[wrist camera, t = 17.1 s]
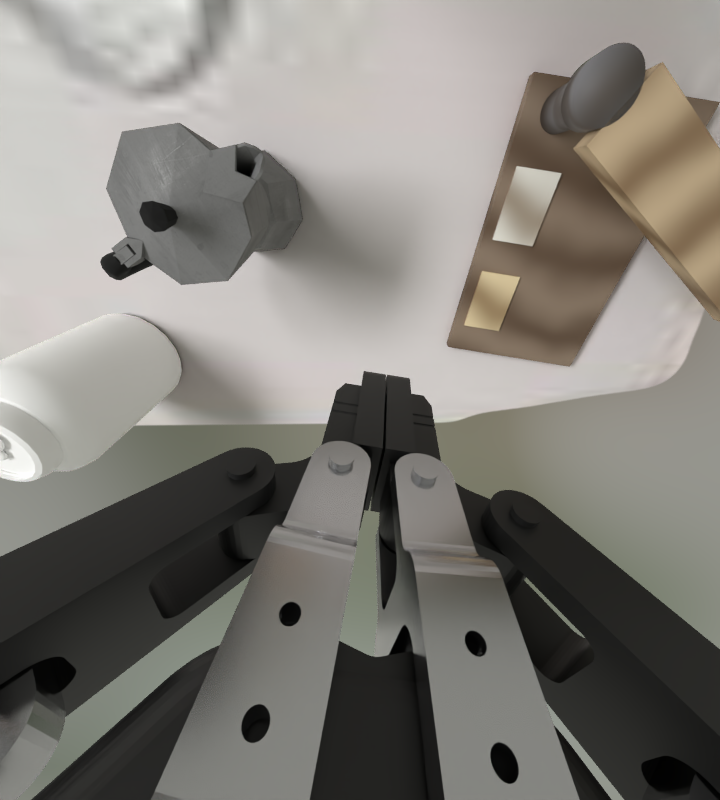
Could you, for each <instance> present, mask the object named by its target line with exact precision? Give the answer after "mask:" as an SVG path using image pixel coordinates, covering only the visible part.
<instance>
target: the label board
mask: <svg viewBox="0 0 720 800" xmlns="http://www.w3.org/2000/svg"><path fill="white" fill-rule="evenodd" d="M570 79H571V78H569V77H563V76H557V75H551V74H544V73H538V72H534V73H533V74H532V75H530V76H529V79H528V82H527V85H526V89H525V92H524V95H523V98H522V102H521V105H520V108H519V111H518V115H517V118H516V121H515V124H514V127H513V131H512V134H511V137H510V140H509V144H508V147H507V150H506V153H505V157H504V160H503V163H502V166H501V169H500V173H499V176H498V179H497V182H496V186H495V189H494V192H493V195H492V198H491V202H490V205H489V208H488V211H487V215H486V218H485V221H484V224H483V228H482V231H481V234H480V237H479V240H478V244H477V247H476V250H475V253H474V257H473V260H472V263H471V266H470V270H469V273H468V276H467V279H466V282H465V286H464V289H463V292H462V295H461V299H460V302H459V305H458V308H457V312H456V315H455V318H454V321H453V324H452V328H451V331H450V334H449V337H448V341H447V345H448V347H453V348H459V349H465V350H471V351H477V352H484V353H490V354H496V355H502V356H508V357H514V358H521V359H527V360H533V361H539V362H545V363H551V364H558V365H564V366H570V365H571V363H572V362H573V360H574V358H575V356H576V355H577V353H578V351H579V349H580V348H581V346H582V344H583V342H584V341H585V339H586V337H587V335H588V334H589V332H590V330H591V328H592V327H593V325H594V323H595V321H596V320H597V318H598V316H599V314H600V312H601V311H602V309H603V307H604V305H605V304H606V302H607V300H608V298H609V297H610V295H611V293H612V291H613V290H614V288H615V286H616V284H617V283H618V281H619V279H620V277H621V276H622V274H623V272H624V270H625V268H626V267H627V265H628V263H629V261H630V260H631V258H632V256H633V254H634V253H635V251H636V249H637V247H638V246H639V244H640V242H641V240H642V239H643V237H644V234H643V233H642V232H641V230H640V229H639V228H638V227H637V226H636V224H635V223H634V222H633V221H632V220H631V218H630V217H629V216H628V215H627V214H626V212H625V211H624V210H623V209H622V207H621V206H620V205H619V204H618V203H617V201H616V200H615V199H614V198H613V197H612V195H611V194H610V193H609V192H608V190H607V189H606V188H605V187H604V186H603V184H602V183H601V182H600V181H599V180H598V178H597V177H596V176H595V175H594V174H593V172H592V171H591V170H590V169H589V167H588V166H587V165H586V164H585V163H584V161H583V160H582V159H581V158H580V157H579V155H578V154H577V153H576V152H575V150H574V149H573V148H574V147H575V146H576V145H577V144H578V143H579V141H580V140H581V139H582V138H583V137H584V136H585V135H586V134H587V133H588V132H586V133H577V132H574V131H572V130H570V129H569V128H568V127H567V126H566V125H565V123H564V121H563V118H562V113H561V103H562V97H563V94H564V91H565V88H566V86H567V84H568V82H569V80H570ZM686 98H687V100H688V101H689V103H690V104H691V106H692V107H693V109H694V111H695V112H696V114H697V115H698V117H699V118H700V120H701V121H702V123H703V124H704V126H705V127H706V126H707V124H708V122H709V121H710V119H711V117H712V115H713V114H714V112H715V110H716V108H717V107H718V105H719V103H720V102H715V101H709V100H703V99H697V98H691V97H686Z"/></svg>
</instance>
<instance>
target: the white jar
mask: <svg viewBox="0 0 720 800" xmlns="http://www.w3.org/2000/svg"><path fill="white" fill-rule="evenodd" d="M181 373H182V368H181V360H180V358H179V355H178V353H177V351H176V349H175V347H174V345H173V344H172V343H171V342H170V340H169V339H168V338H167V337H166V335H165V334H163V333H162V332H161V331H160V330H159V329H157V328H156V327H155V326H154V325H152V324H150V323H149V322H147V321H145V320H143V319H141V318H139V317H135V316H131V315H127V314H121V313H118V314H106V315H103V316H101V317H99V318H96V319H94V320H92V321H89V322H87V323H85V324H82V325H80V326H78V327H76V328H73V329H71V330H69V331H66V332H64V333H62V334H59V335H57V336H55V337H53V338H50V339H48V340H46V341H43V342H41V343H39V344H36V345H34V346H32V347H30V348H27V349H25V350H23V351H20V352H18V353H16V354H13V355H11V356H9V357H6V358H4V359H2V360H0V477H1V478H4V479H9V480H14V481H18V482H20V481H21V482H25V481H26V482H30V481H33V480H36V479H38V478H41V477H44V476H46V475H49V474H50V473H51V472H52V471H72V470H75V469H78V468H81V467H83V466H85V465H87V464H89V463H91V462H93V461H95V460H97V459H98V458H99V457H100V456H101V455H102V454H103V453H104V452H106V450H108V449H109V448H110V447H111V446H112V445H113V444H114V443H115V442H117V441H118V440H119V439H120V438H121V437H122V436H123V435H124V434H125V433H126V432H127V431H129V430H130V429H131V428H132V427H133V426H134V425H135V424H136V423H137V422H138V421H140V420H141V419H142V418H143V417H144V416H145V415H146V414H147V413H148V412H149V411H151V410H152V409H153V408H154V407H155V406H156V405H157V404H158V403H159V402H160V401H162V400H163V399H164V398H165V397H166V396H167V395H168V394H169V393H170V392H171V391H172V390H173V389H174V388H175V387H176V386H177V385H178V383H179V380H180V377H181Z"/></svg>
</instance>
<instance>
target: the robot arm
mask: <svg viewBox="0 0 720 800" xmlns="http://www.w3.org/2000/svg"><path fill="white" fill-rule="evenodd" d="M434 426H435V425H434V419H433V413H432V407H431V405H430V404H429V402H428V401H427V400H426V399H425V397H424V396H422V395H415V394H411V387H410V379H409V378H404V377H398V376H392V375H387V377H386V375H385V374H379V373H372V372H366V371H364V374H363V380H362V386H358V385H352V384H346V383H345V384H344V385H343V386H342V387H341V388H340V389H338V390H337V392H336V395H335V399H334V403H333V406H332V410H331V413H330V417H329V420H328V424H327V427H326V431H325V435H324V438H323V442H322V445H321V446H319V447H318V448H317V449H316V450H315V451H314V453H313V454H312V456H311V457H309V458H307V459H304V460H301V461H298V462H292V463H281V464H275V463H274V461H273V459H272V458H271V456H269V455H268V454H267V453H266V452H264V451H262V450H259V449H255V448H237V449H233V450H229V451H227V452H224V453H223V454H220V455H218V456H216V457H214V458H212V459H210V460H207V461H205V462H203V463H201V464H199V465H197V466H194V467H192V468H190V469H188V470H186V471H184V472H181V473H179V474H177V475H175V476H173V477H171V478H169V479H167V480H164V481H162V482H160V483H158V484H156V485H154V486H151V487H149V488H147V489H145V490H143V491H141V492H138V493H136V494H134V495H132V496H130V497H128V498H126V499H123V500H121V501H119V502H117V503H115V504H113V505H111V506H108V507H106V508H104V509H102V510H100V511H98V512H95V513H94V514H91V515H89V516H87V517H85V518H83V519H80V520H79V521H76V522H74V523H72V524H70V525H68V526H66V527H63V528H61V529H59V530H57V531H55V532H52V533H50V534H48V535H46V536H44V537H42V538H40V539H38V540H35V541H33V542H31V543H29V544H27V545H25V546H23V547H20V548H18V549H16V550H14V551H12V552H10V553H7V554H5V555H3V556H1V557H0V800H16V799H17V798H18V797H19V796H20V795H21V794H22V793H23V792H24V791H25V790H26V789H27V788H28V787H29V786H30V785H31V784H32V782H33V781H34V780H35V779H36V778H37V777H38V775H39V774H40V773H41V771H42V770H43V768H44V767H45V766H46V764H47V763H48V761H49V759H50V758H51V756H52V754H53V753H54V750H55V748H56V746H57V744H58V742H59V740H60V737H61V734H62V731H63V727H64V723H65V717H66V716H67V715H69V714H70V713H71V712H73V711H74V710H75V709H77V708H78V707H79V706H80V705H82V704H83V703H84V702H86V701H87V700H88V699H90V698H91V697H92V696H93V695H95V694H96V693H97V692H99V691H100V690H101V689H103V688H104V687H105V686H106V685H108V684H109V683H110V682H111V681H113V680H114V679H116V678H117V677H118V676H119V675H121V674H122V673H123V672H125V671H126V670H127V669H128V668H130V667H131V666H132V665H134V664H135V663H136V662H137V661H139V660H140V659H141V658H143V657H144V656H145V655H147V654H148V653H149V652H151V651H152V650H153V649H154V648H156V647H157V646H158V645H160V644H161V643H162V642H163V641H165V640H166V639H167V638H169V637H170V636H171V635H173V634H174V633H175V632H177V631H178V630H179V629H180V628H182V627H183V626H184V625H186V624H187V623H188V622H190V621H191V620H192V619H193V618H195V617H196V616H197V615H199V614H200V613H201V612H202V611H204V610H205V609H206V608H208V607H209V606H210V605H212V604H213V603H214V602H215V601H217V600H218V599H219V598H221V597H222V596H223V595H224V594H226V593H227V592H228V591H230V590H231V589H232V588H234V587H235V586H236V585H238V584H239V583H240V582H241V581H243V580H244V579H245V578H246V577H248V576H249V575H250V574H252V575H251V577H250V579H249V582H248V584H247V586H246V588H245V590H244V593H243V595H242V597H241V599H240V602H239V604H238V606H237V608H236V611H235V613H234V615H233V617H232V620H231V622H230V624H229V627H228V628H227V631H226V633H225V636H224V638H223V640H222V642H221V644H220V645H219V646H217V647H215V648H212V649H210V650H208V651H206V652H205V653H203V654H201V655H200V656H198V657H196V658H194V659H193V660H191V661H190V662H188V663H187V664H186V665H184V666H183V667H182V668H180V669H179V670H177V671H176V672H175V673H174V674H172V675H171V676H170V677H169V678H168V679H166V680H165V681H164V682H163V683H162V684H161V685H160V686H158V687H157V688H156V689H155V690H154V691H153V692H152V693H151V694H149V695H148V696H147V697H146V698H145V699H144V700H143V701H142V702H141V703H139V704H138V705H137V706H136V707H135V708H134V709H133V710H132V711H130V712H129V713H128V714H127V715H126V716H125V717H124V718H123V719H121V720H120V721H119V722H118V723H117V724H116V725H115V726H114V727H113V728H112V729H110V730H109V731H108V732H107V733H106V734H105V735H103V736H102V737H101V738H100V739H99V740H98V741H97V742H96V743H95V744H93V745H92V746H91V747H90V748H89V749H88V750H87V751H86V752H84V754H82V755H81V756H80V757H79V758H78V759H77V760H76V761H74V762H73V763H72V764H71V765H70V766H69V767H68V768H66V769H65V770H64V771H63V772H62V773H61V774H60V775H59V776H57V777H56V778H55V779H54V780H53V781H52V782H51V783H50V784H49V785H47V786H46V787H45V788H44V789H43V790H42V791H41V792H39V793H38V794H37V795H36V796H35V797H34V798H33V799H32V800H611V798H610V797H609V796H608V794H607V793H606V792H605V791H604V789H603V788H602V786H601V785H600V784H599V782H598V781H597V780H596V778H595V777H594V776H593V775H592V773H591V772H590V770H589V769H588V768H587V766H586V765H585V764H584V763H583V761H582V760H581V758H580V757H579V756H578V754H577V753H576V752H575V751H574V749H573V748H572V746H571V745H570V744H569V743H568V741H567V740H566V739H565V738H564V736H563V735H562V734H561V733H560V732H559V730H558V729H557V728H556V727H555V726H554V725H553V722H552V719H551V716H550V713H549V711H548V707H547V705H546V702H547V704H548V705H549V706H550V707H551V709H552V710H553V711H554V712H555V714H556V715H557V716H558V717H559V718H560V720H561V721H562V722H563V724H564V725H565V726H566V727H567V729H568V730H569V731H570V732H571V734H572V735H573V736H574V737H575V738H576V740H577V741H578V742H579V744H580V745H581V746H582V747H583V749H584V750H585V751H586V752H587V754H588V755H589V756H590V757H591V758H592V760H593V761H594V762H595V763H596V765H597V766H598V767H599V768H600V770H601V771H602V772H603V773H604V775H605V776H606V777H607V778H608V780H609V781H610V782H611V783H612V785H613V786H614V787H615V788H616V789H617V791H618V792H619V793H620V795H621V796H622V797H623V798H624V800H720V649H719V648H717V647H716V646H715V645H714V644H713V643H711V642H710V641H709V640H708V639H706V638H705V637H704V636H702V634H700V633H699V632H698V631H697V630H695V629H694V628H693V627H692V626H691V625H689V624H688V623H687V622H686V621H684V620H683V619H682V618H681V617H679V616H678V615H677V614H676V613H675V612H673V611H672V610H671V609H670V608H668V607H667V606H666V605H665V604H664V603H662V602H661V601H660V600H659V599H657V598H656V597H655V596H653V595H652V594H651V593H650V592H649V591H648V590H646V589H645V588H644V587H643V586H641V585H640V584H639V583H638V582H637V581H635V580H634V579H633V578H632V577H630V576H629V575H628V574H627V573H625V572H624V571H623V570H622V569H621V568H619V567H618V566H617V565H616V564H614V563H613V562H612V561H611V560H609V559H608V558H607V557H606V556H605V555H603V554H602V553H601V552H600V551H599V550H597V549H596V548H595V547H594V546H592V545H591V544H590V543H589V542H587V541H586V540H585V539H584V538H583V537H581V536H580V535H579V534H578V533H577V532H575V531H574V530H573V529H572V528H570V527H569V526H568V525H567V524H565V523H564V522H563V521H562V520H561V519H559V518H558V517H557V516H556V515H554V514H553V513H552V512H551V511H550V510H548V509H547V508H546V507H545V506H543V505H542V504H541V503H539V502H538V501H537V500H535V499H534V498H532V497H530V496H528V495H526V494H524V493H521V492H518V491H512V490H504V491H499V492H497V493H496V494H495V495H493V497H492V498H491V500H490V499H488V498H485V497H483V496H481V495H478V494H476V493H474V492H471V491H469V490H467V489H465V488H463V487H461V486H460V485H458V484H457V483H455V481H454V478H453V475H452V473H451V471H450V470H449V469H448V467H447V466H446V465H445V464H444V463H442V462H441V460H440V454H439V448H438V442H437V436H436V430H435V428H434ZM371 496H372V499H371ZM370 501H371V511H375V512H380V516H379V527H378V531H377V534H376V570H377V603H378V620H377V630H376V638H375V657H373V656H369V655H366V654H364V653H362V652H360V651H358V650H356V649H354V648H352V647H350V646H348V645H346V644H344V643H342V642H340V641H339V638H340V632H341V628H342V622H343V617H344V611H345V606H346V601H347V595H348V590H349V584H350V579H351V574H352V568H353V563H354V557H355V552H356V546H357V538H358V532H359V530H360V527H361V522H362V518H363V513H364V510H368V509H369V505H370ZM526 577H527V578H528V579H529V580H530V581H531V582H532V583H533V584H534V585H535V587H536V588H538V590H539V591H540V592H542V594H543V595H544V596H545V597H546V598H547V599H549V601H550V602H551V603H552V604H553V605H554V606H555V607H556V608H557V609H558V610H559V611H560V612H561V613H562V614H563V615H564V616H565V617H566V618H567V619H568V620H569V621H570V622H571V623H572V624H573V625H574V626H575V627H576V628H577V629H578V630H579V631H580V632H581V633H582V634H583V635H584V637H585V638H583V637H581V636H579V635H578V634H577V633H575V632H574V631H573V630H572V629H571V628H570V627H569V626H568V625H567V624H566V623H565V622H564V621H563V620H562V619H561V618H560V617H559V616H558V615H557V614H556V613H555V612H554V611H553V610H552V609H551V608H550V607H549V606H548V605H547V604H546V603H545V602H544V600H543V599H542V598H541V597H540V596H539V595H538V594H537V593H536V592H535V591H534V590H533V589H532V588H531V587H530V586H529V585H528V584H527V583H526V582H525V581H524V579H525V578H526ZM545 701H546V702H545Z"/></svg>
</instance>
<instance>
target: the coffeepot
mask: <svg viewBox="0 0 720 800" xmlns="http://www.w3.org/2000/svg"><path fill="white" fill-rule="evenodd" d="M106 189H107V192H108V194H109V196H110V199H111V201H112V203H113V205H114V208H115V210H116V212H117V214H118V217H119V219H120V221H121V223H122V226H123V228H124V230H125V232H126V235H127V237H126V238H124V239H123V240H121V241H120V242H119V243H118V244H117V245H115V246H114V247H113V248H112V250H113V251H114V252H112V253H109V254H107V255H105V256H104V257H102V259H101V265H102V268H103V269H104V270H105V272H106V273H107V274H108V275H109V276H110V277H112V278H114V279H116V280H122V279H124V278H126V277H128V276H130V275H132V274H134V273H136V272H138V271H141V270H143V269H145V268H147V267H149V266H152V265H155V266H156V267H157V268H159V269H160V270H162V271H163V272H164V273H166V274H167V275H169V276H170V277H171V278H173V279H174V280H175V281H177V282H178V283H180V284H181V285H185V284H197V283H208V282H220V281H228V280H229V279H230V278H231V277H232V276H233V274H234V273H235V272H236V271H237V270H238V269H239V268H240V267H241V266H242V264H243V263H244V262H245V261H246V260H247V259H248V258H249V257H250V256H251V254H252V253H253V252H255V251H265V250H275V249H285V247H286V246H287V244H288V243H289V241H290V240H291V238H292V237H293V235H294V233H295V231H296V230H297V228H298V226H299V225H300V223H301V222H302V215H301V208H300V199H299V195H298V191H297V185H296V180H295V178H294V177H293V176H292V175H291V174H289V173H288V172H287V171H286V170H285V169H284V168H283V167H282V166H281V165H280V164H279V163H278V162H277V161H275V160H274V159H273V158H272V157H271V156H270V155H269V154H268V153H267V152H266V151H265V150H263V151H261V150H260V149H259V148H257V147H255V146H253V145H250V144H248V143H241V144H237V145H232V146H228V147H224V148H218V147H216V146H215V145H213V144H212V143H210V142H209V141H207V140H205V139H204V138H202V137H201V136H199V135H198V134H196V133H194V132H193V131H191V130H190V129H188V128H187V127H185V126H183V125H182V124H180V123H175V124H169V125H162V126H156V127H149V128H143V129H136V130H130V131H124V132H122V133H121V137H120V141H119V144H118V148H117V152H116V155H115V159H114V162H113V166H112V170H111V173H110V177H109V180H108V184H107V188H106Z"/></svg>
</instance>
